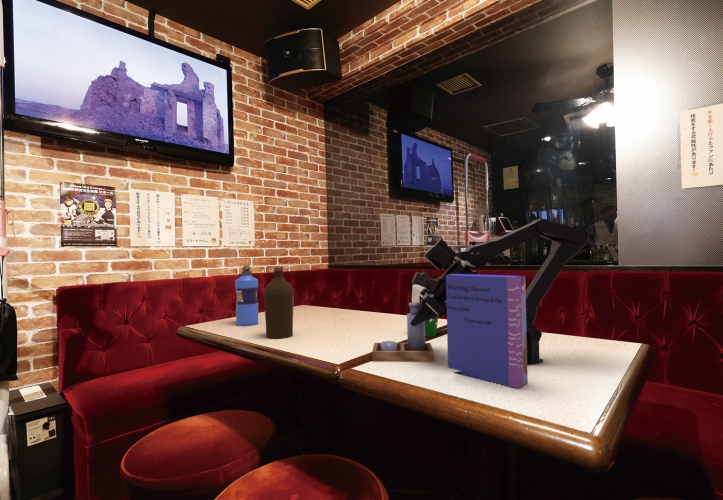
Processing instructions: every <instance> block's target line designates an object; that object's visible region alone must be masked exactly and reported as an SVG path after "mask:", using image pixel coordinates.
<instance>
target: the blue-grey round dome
mask: <svg viewBox="0 0 723 500" xmlns="http://www.w3.org/2000/svg"><path fill="white" fill-rule="evenodd" d="M380 343H381V351H397V343H398V342H396V341H392V340H384V341H380Z"/></svg>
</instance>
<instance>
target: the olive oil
mask: <svg viewBox="0 0 723 500" xmlns="http://www.w3.org/2000/svg"><path fill="white" fill-rule="evenodd" d="M283 269H284V267H283V266H275V267H273V278H272V279H271V280H270V281H269V283H267V285H266V286H265V287H264V288H265V289H264V292H263V302H264V303H263V305H264V316H265V317H264V318H265V336H266V338H267V339H275V340H276V339H277V340H280V339H287V338H290V337H292V336H293V334H294V298H295V297H294V296H295V293H294V289H293V287H292V285H291V284H290V283H289V282H288V281H287V280H286V278H284V270H283Z"/></svg>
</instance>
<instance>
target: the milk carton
mask: <svg viewBox="0 0 723 500" xmlns="http://www.w3.org/2000/svg"><path fill="white" fill-rule="evenodd" d="M411 287H412V289H411V290H412V291H411V303H412V302H419V295H420V296H421V297H422V296H423V295H421V294H420V293H419V292H420V291H421V290H422V289H423V288H424V287H422V286H420V285H416V284H413V283H412V285H411ZM437 314H438V313H437ZM438 315H439V314H438ZM438 320H439V316H438V317H435V318H432V319H429V320H427V321H425V336H427V337H428V338H431V337H432V338H436V336H437V335H436V334H437V329H438V322H439V321H438Z"/></svg>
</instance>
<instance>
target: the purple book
mask: <svg viewBox="0 0 723 500" xmlns="http://www.w3.org/2000/svg"><path fill="white" fill-rule="evenodd" d="M446 297H447V302H446V306H447V312H446V330H447V331H446V333H447V334H446V335H447V337H446V338H447V341H446V342H447V345H446V346H447V368H449V369H452V370H457V371H454V372H453V374H454V375H455V374H456V375H459V376H463V377H468V378H471V379H476V380H479V379H480V380H479V381H483V380H484V381H483V382H487V381H488V383H491V382H492V384H495V383H496V385H499V384H500V385H499V386H504V387H508V388H512V389H516V390H519V389H521V388H523V387H524V386H526V385H529V384H528V383H529V382H528V380H529V379H528V365H527V335H526V276H525V275H511V274H510V275H509V274H507V275H506V274H505V275H504V274H503V275H502V274H479V273H478V274H448V275H446Z"/></svg>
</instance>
